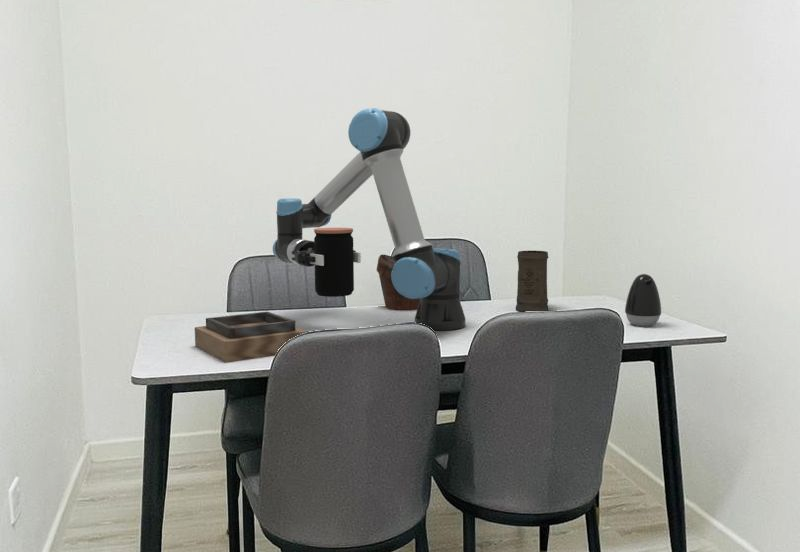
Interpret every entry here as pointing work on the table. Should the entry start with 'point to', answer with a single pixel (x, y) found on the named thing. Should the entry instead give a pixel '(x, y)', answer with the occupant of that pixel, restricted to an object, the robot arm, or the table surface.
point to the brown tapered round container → (392, 287)
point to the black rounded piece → (643, 302)
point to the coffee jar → (334, 262)
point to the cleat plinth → (245, 335)
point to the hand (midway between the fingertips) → (341, 259)
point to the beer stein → (532, 281)
